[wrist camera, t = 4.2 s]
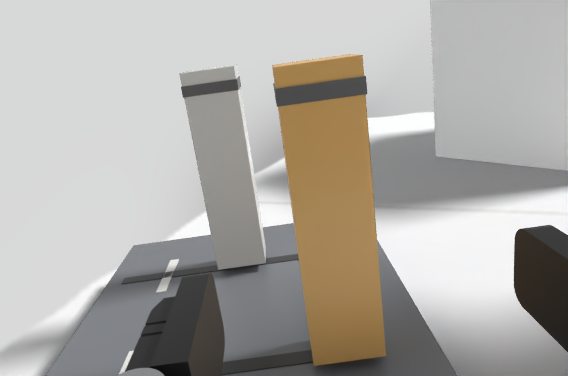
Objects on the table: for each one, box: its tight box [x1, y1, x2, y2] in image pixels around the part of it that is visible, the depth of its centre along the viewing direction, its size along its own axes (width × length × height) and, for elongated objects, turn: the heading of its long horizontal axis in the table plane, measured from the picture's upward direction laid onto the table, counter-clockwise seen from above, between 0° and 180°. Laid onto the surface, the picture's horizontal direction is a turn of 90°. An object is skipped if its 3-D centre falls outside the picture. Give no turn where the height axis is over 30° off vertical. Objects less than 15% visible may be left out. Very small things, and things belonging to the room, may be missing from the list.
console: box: [46, 223, 457, 376], centre depth 25 cm, size 18×22×3 cm
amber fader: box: [272, 54, 386, 366], centre depth 18 cm, size 3×3×12 cm
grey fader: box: [180, 65, 266, 270], centre depth 28 cm, size 3×3×12 cm
